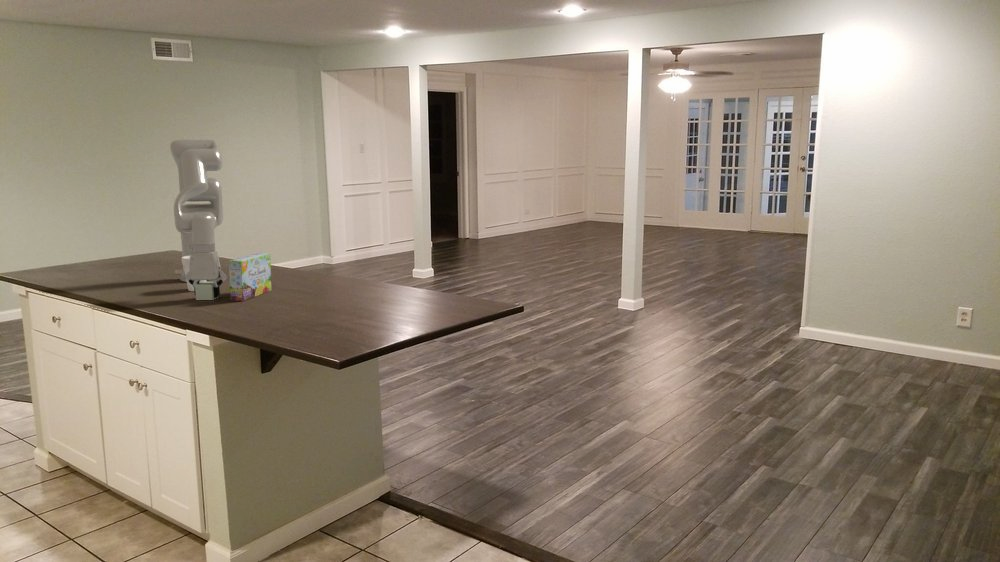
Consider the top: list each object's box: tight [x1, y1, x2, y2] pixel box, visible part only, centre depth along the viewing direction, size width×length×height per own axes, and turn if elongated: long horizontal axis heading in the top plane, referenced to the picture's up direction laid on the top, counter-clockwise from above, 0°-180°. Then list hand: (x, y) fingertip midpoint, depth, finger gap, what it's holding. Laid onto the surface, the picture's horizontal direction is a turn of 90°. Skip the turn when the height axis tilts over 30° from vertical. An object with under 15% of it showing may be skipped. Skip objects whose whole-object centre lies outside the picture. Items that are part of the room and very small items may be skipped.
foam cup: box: [181, 256, 208, 292], centre depth 289 cm, size 10×9×13 cm
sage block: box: [195, 281, 219, 301], centre depth 273 cm, size 6×6×6 cm
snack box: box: [228, 252, 272, 302], centre depth 279 cm, size 21×6×15 cm, turn 168°
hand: (207, 296), depth 274 cm, fingers closed on sage block, 6 cm apart
